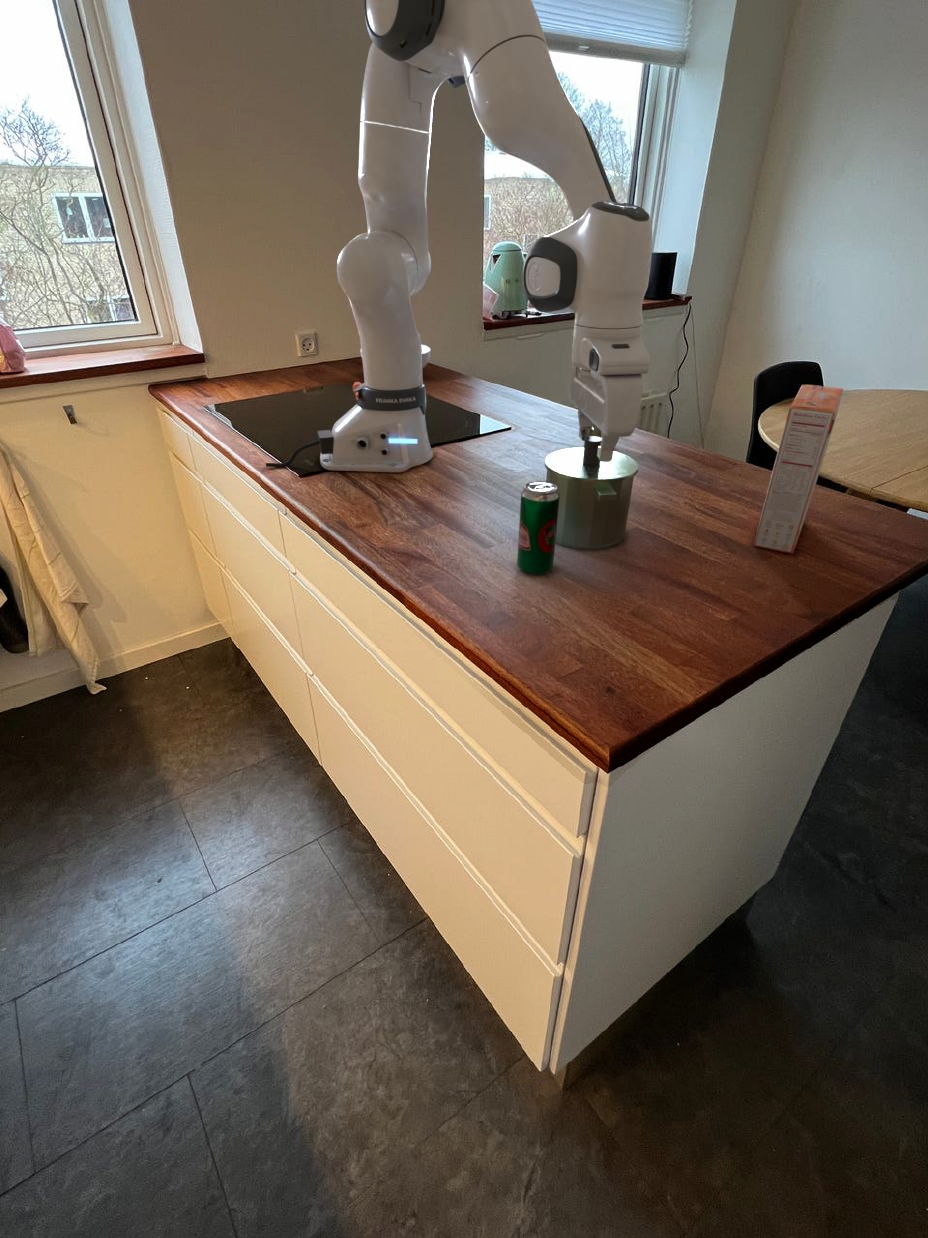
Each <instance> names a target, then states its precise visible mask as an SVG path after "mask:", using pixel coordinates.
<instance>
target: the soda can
mask: <svg viewBox="0 0 928 1238" xmlns="http://www.w3.org/2000/svg"><path fill="white" fill-rule="evenodd" d="M523 488H524V489H523V490H522V491H521V493H520V503H519V505H520V506H519V525H518V541H517V556H516V557H517V558H516V559H517V560H516V565H517V567H518V569H520V571H522V572H523V573H525V574H528V575H531V576H541V575H546V574H548V573H549V572H550V571H551V570H552V569H553V568H554V564H555V553H556V552H555V550H556V543H555V542H556V531H557V520H558V509H559V498H560V495H559V493H558V491H557V489H558V488H557V486H556V485H554V484H552V483H549V482H546V481H542V480H541V481H540V480H536V481H530V482H527V483H525V484H524V487H523Z"/></svg>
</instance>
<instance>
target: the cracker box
mask: <svg viewBox="0 0 928 1238" xmlns="http://www.w3.org/2000/svg"><path fill="white" fill-rule="evenodd" d="M843 392H844V388H839V387H832V386H831V387H829V386H823V385H817V384H801V386H800V388H799V390H798V392H797V394H796V395H795V398H794V399H793V401H792V403H791V405H790V406H789V408H788V412H787V417H786V419H785V424H784V427H783V431H782V435H781V438H780V442H779V446H778V449H777V453H776V456H775V461H774V464H773V468H772V472H771V475H770V479H769V483H768V487H767V490H766V495H765V499H764V502H763V507H762V511H761V514H760V518H759V521H758V526H757V529H756V533H755V537H754V541H753V544H752V545H753V546H754V547H756V548H762V549H767V550H771V551H772V550H773V551H776V552H781V553H784V554H785V553H786V554H791V555H793V554H794V552H795V549H796V546H797V543H798V540H799V537H800V534H801V531H802V529H803V526H804V523H805V520H806V516H807V513H808V510H809V506H810V505H811V504H810V503H811V500H812V497H813V494H814V491H815V488H816V484H817V482H818V478H819V475H820V472H821V468H822V465H823V462H824V460H825V459H824V458H825V457H826V456H825V455H826V452H827V449H828V445H829V442H830V439H831V436H832V433H833V429H834V426H835V422H836V419H837V416H838V412H839V408H840V404H841V401H842V396H843Z"/></svg>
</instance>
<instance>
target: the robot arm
mask: <svg viewBox="0 0 928 1238" xmlns="http://www.w3.org/2000/svg"><path fill="white" fill-rule="evenodd" d="M363 8H364V11H363V12H364V19H365V24H366V29H367V32H368V34H369V35H368V36H369V37H370V39H371V41H372V43H371V45H370V47H369V50H368V54H367V59H366V64H365V69H364V70H365V71H364V76H363V83H362V91H361V101H360V113H359V114H360V116H359V120H360V122H359V137H358V138H359V139H358V140H359V141H358V171H357V181H358V186H359V189H360V192H361V194H362V198H363V202H364V208H365V217H366V223H367V224H366V225H367V232H363V233H361V234H358V235H356V236H355V237H354V238H353V239H351V240H350V241H349V242H348V243H346V245H345V246H344V247H343V248H342V249H341V251H340V253H339V255H338V258H337V262H336V276H337V280H338V283H339V286H340V288H341V290H342V291H343V293H344V294H345V295H346V297H347V299H348V301H349V303H350V306H351V310H352V313H353V318H354V320H355V323H356V328H357V330H358V336H359V341H360V350H362V356H361V360H362V361H361V362H362V373H363V381H364V382H363V383H362V382H360V381H355V382H354V383H353V384H352V392H353V394H354V402H355V403H354V404H355V405H354V406H353V407H352V408H350V409H349V410H348V411H346V413H344V414H343V415H342V416H341V417H340V418H339V419H337V421H336V422H335V423H334V424H333V426H332V427H331V429H324V430H317V440H314V441H311V442H308V443H306V444H303V445H301V446H299V447H298V448H296V449H295V450H293V452H292V453H291V455H290V458H289V459H288V460H287V461H284V462H279V463H277V462H265V467H266V468H283V467H287V466H289V465H291V464H292V463H293V462H294V461H295V459H296V457H297V455H298V454H299V453H300V452H302V451H303V450H306V449H309V448H311V447H314V446H318V448H319V450H320V455H319V463H320V465H321V467H322V468H324V469H325V470H327V471H341V472H342V471H343V472H344V471H346V472H370V473H371V472H373V473H374V472H376V473H403V472H406V471H408V470H409V469H411V468H413V467H416V466H421V465H423V464H426V463H427V462H429V461H430V460H432V459H433V458H434V453H433V450H432V447H431V444H430V438H429V434H428V429H427V428H428V427H427V423H426V412H427V411H426V410H427V390H426V385H425V382H424V381H423V379H424V378H423V369H422V347H421V344H422V338H421V335H420V333H419V332H418V329H417V325H416V321H415V316H414V313H413V308H412V307H413V306H412V300H411V297H414V296H415V295H417V294H418V293H419V292H420V291H421V290H422V288H423V287H424V286H425V284H426V283H427V281H428V279H429V276H430V274H431V270H432V258H431V254H430V251H429V229H428V212H427V211H428V210H427V188H428V187H427V186H428V173H429V160H430V149H431V138H432V125H433V124H432V123H433V109H434V100H435V96H436V94H437V91H438V90H439V87H440V86H441V85H442V84H443V83H444V82H445V81H447V83H448V84H449V85H450V87H451V88H452V89H458V88H460V87H462V86H464V85H466V88H467V91H468V95H469V100H470V103H471V106H472V109H473V113H474V115H475V118H476V120H477V123H478V124H479V126H480V129H481V130H482V132H483V134H484V136H485V137H486V139H487V141H488V142H489V143H490V144H491V145H492V146H494V147H495V148H497V150H499V151H501V152H503V153H504V154H506V155H509V156H511V157H514V158H517V159H519V160H521V161H523V162H525V163H528V164H530V165H532V166H533V167H535V168H537V169H539V170H541V171H542V172H543V173H545V174H546V175H548V176H549V177H550V178H551V179H552V180H553V181H554V182H555V183H556V184H557V186H558V188H560V190H561V192H562V194H563V196H564V198H565V201H566V204H567V206H568V208H569V209H568V210H569V211H570V215H571V216H572V218H573V223H571V224H570V225H568V226H566V227H564V228H562V229H560V230H558V231H555V232H552V233H550V234H547V235H544V236H541V237H539V238H537V239H536V240H535V241H534V242H533V243H532V245H531V246H530V247H529V249H528V251H527V253H526V256H525V258H524V262H523V266H522V267H523V268H522V286H523V291H524V294H525V296H526V299H527V300H528V302H529V303H530V305H531V306H532V307H533V308H534V309H535V311H538V312H539V313H545V314H550V315H558V314H559V315H560V314H568V313H569V314H572V313H573V314H574V323H573V334H572V344H571V356H570V357H571V358H570V359H571V361H572V365H571V372H570V380H569V387H568V393H569V394H568V396H569V400H570V402H571V403H573V405H574V406H575V407H576V408H577V409H578V410H577V417H578V425H579V429H578V438H579V439H580V440H581V441H582V442H585V438H586V437H589V436H593V432H594V429H593V427H592V426H593V423H594V424H595V425H596V426H597V427H598V428H599V429H600V430H601V437H602V440H601V444H600V446H598V453H597V457H598V459H599V460H600V461H601V462H610V461H611V460H612V459H613V451H615V448H616V446H617V444H618V442H619V440H620V438H624V437H630V436H632V434H633V433H634V432H635V429H636V428H637V425H638V420H639V415H640V410H641V404H642V399H643V392H644V378H643V375H644V374H648V373H649V371H650V366H651V356H650V354H649V352H648V350H647V349H646V346H645V344H644V338H643V336H642V332H643V326H644V325H643V324H644V316H643V302H644V298H645V295H646V292H647V290H648V288H649V283H650V275H651V265H652V257H653V255H652V254H653V225H652V220H651V216H650V214H649V212H647V211H646V210H645V209H644V208H642V207H641V206H638V205H636V204H632V203H628V202H618V201H617V199H616V196H615V193H614V191H613V187H612V186H611V183H610V180H609V177H608V174H607V173H606V170H605V167H604V165H603V163H602V160H601V157H600V154H599V152H598V149H597V147H596V145H595V142H594V140H593V138H592V135H591V133H590V131H589V129H588V127H587V125H586V124H585V122H584V121H583V119H582V117H581V115H580V114H579V113H578V112H577V110H576V108H575V107H574V105H573V104H572V102H571V100H570V98H569V97H568V95H567V93H566V91H565V88H564V87H563V85H562V83H561V80H560V78H559V75H558V73H557V71H556V68H555V65H554V63H553V60H552V57H551V54H550V50H549V47H548V44H547V40H546V36H545V33H544V29H543V27H542V25H541V22H540V19H539V16H538V13H537V10H536V8H535V5H534V4H533V0H363Z"/></svg>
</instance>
